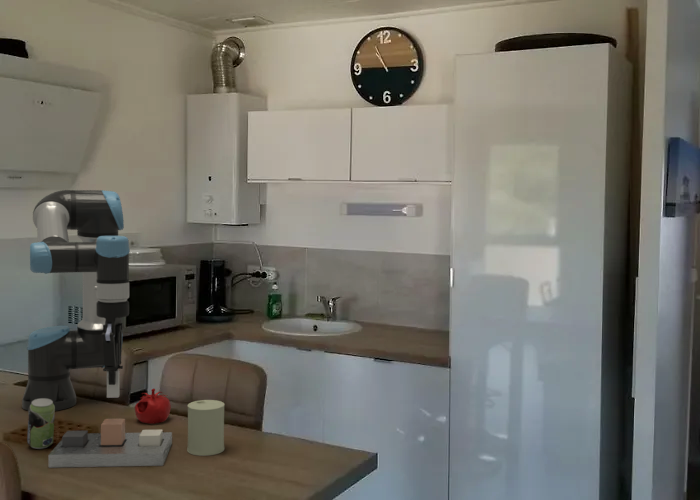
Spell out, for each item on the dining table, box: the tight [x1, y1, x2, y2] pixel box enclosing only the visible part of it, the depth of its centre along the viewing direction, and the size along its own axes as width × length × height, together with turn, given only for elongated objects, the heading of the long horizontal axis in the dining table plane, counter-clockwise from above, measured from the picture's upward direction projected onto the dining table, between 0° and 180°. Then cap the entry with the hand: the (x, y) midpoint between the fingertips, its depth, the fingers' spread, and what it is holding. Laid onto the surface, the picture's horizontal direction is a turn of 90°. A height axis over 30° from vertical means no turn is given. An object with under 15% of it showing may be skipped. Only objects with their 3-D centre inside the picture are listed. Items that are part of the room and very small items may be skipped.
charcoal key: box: [61, 430, 89, 447], centre depth 185 cm, size 5×5×5 cm
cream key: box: [139, 429, 163, 446], centre depth 187 cm, size 5×5×5 cm
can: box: [186, 399, 226, 457], centre depth 191 cm, size 9×9×12 cm
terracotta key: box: [100, 418, 126, 445], centre depth 186 cm, size 5×5×5 cm
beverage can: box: [26, 398, 56, 450], centre depth 191 cm, size 6×7×12 cm
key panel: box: [48, 431, 173, 469], centre depth 186 cm, size 16×26×3 cm, turn 96°
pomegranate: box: [134, 388, 172, 425], centre depth 215 cm, size 10×10×9 cm
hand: (113, 396), depth 185 cm, fingers closed
